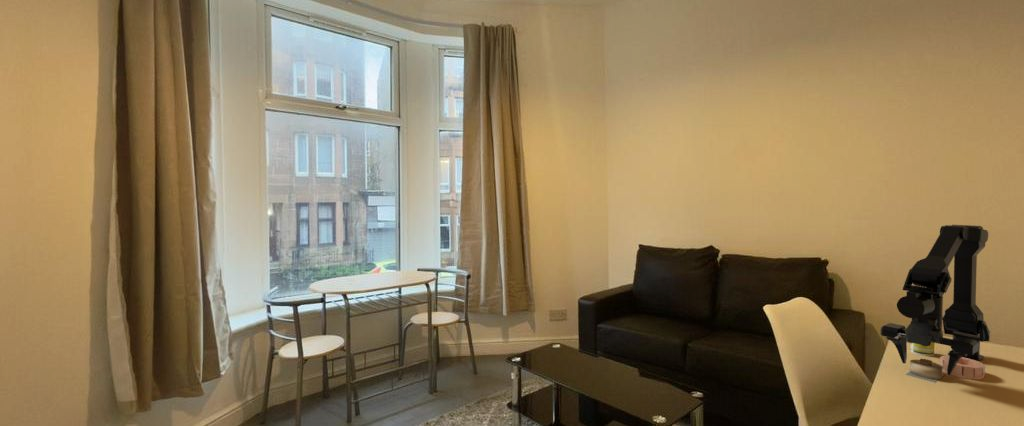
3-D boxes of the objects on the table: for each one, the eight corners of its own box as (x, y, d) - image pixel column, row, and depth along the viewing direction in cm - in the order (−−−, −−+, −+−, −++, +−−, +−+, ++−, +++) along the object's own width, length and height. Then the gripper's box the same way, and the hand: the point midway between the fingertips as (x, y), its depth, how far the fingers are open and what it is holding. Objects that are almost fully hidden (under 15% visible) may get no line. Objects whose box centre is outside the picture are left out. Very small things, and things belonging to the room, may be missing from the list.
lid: (914, 367, 125) (915, 354, 125) (945, 375, 119) (946, 361, 119) (906, 372, 121) (906, 359, 121) (937, 381, 116) (937, 367, 116)
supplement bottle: (938, 357, 132) (939, 325, 132) (917, 356, 133) (918, 324, 133) (925, 351, 138) (926, 320, 137) (905, 350, 139) (906, 319, 138)
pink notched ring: (945, 365, 127) (946, 353, 126) (988, 375, 119) (988, 362, 119) (935, 372, 122) (936, 359, 122) (978, 383, 115) (979, 370, 115)
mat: (917, 368, 125) (917, 366, 125) (946, 375, 120) (946, 373, 120) (905, 375, 121) (905, 374, 121) (934, 383, 115) (934, 382, 115)
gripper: (873, 309, 123) (871, 364, 124) (966, 326, 107) (964, 389, 108) (889, 303, 129) (887, 355, 130) (980, 318, 113) (978, 378, 114)
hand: (926, 368), depth 120 cm, fingers open, 9 cm apart
